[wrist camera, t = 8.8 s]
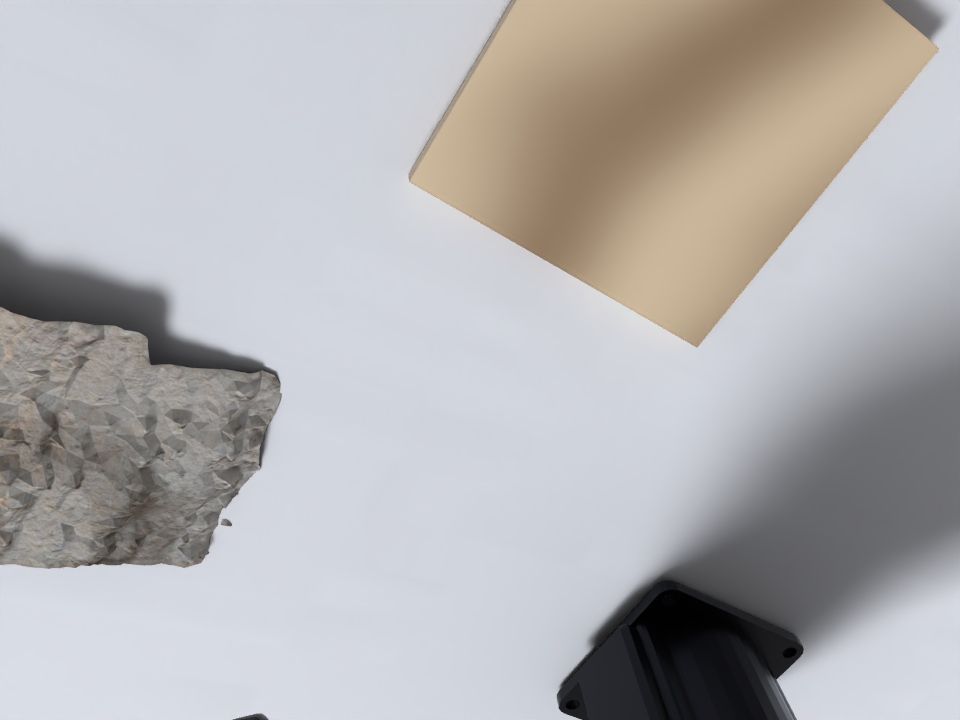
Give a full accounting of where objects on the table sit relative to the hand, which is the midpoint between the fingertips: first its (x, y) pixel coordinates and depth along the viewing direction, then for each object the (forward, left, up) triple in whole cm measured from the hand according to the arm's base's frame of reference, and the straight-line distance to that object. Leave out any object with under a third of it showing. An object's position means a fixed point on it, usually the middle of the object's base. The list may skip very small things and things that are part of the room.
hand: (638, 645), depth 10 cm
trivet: (-2, -5, -13) cm, 14 cm away
